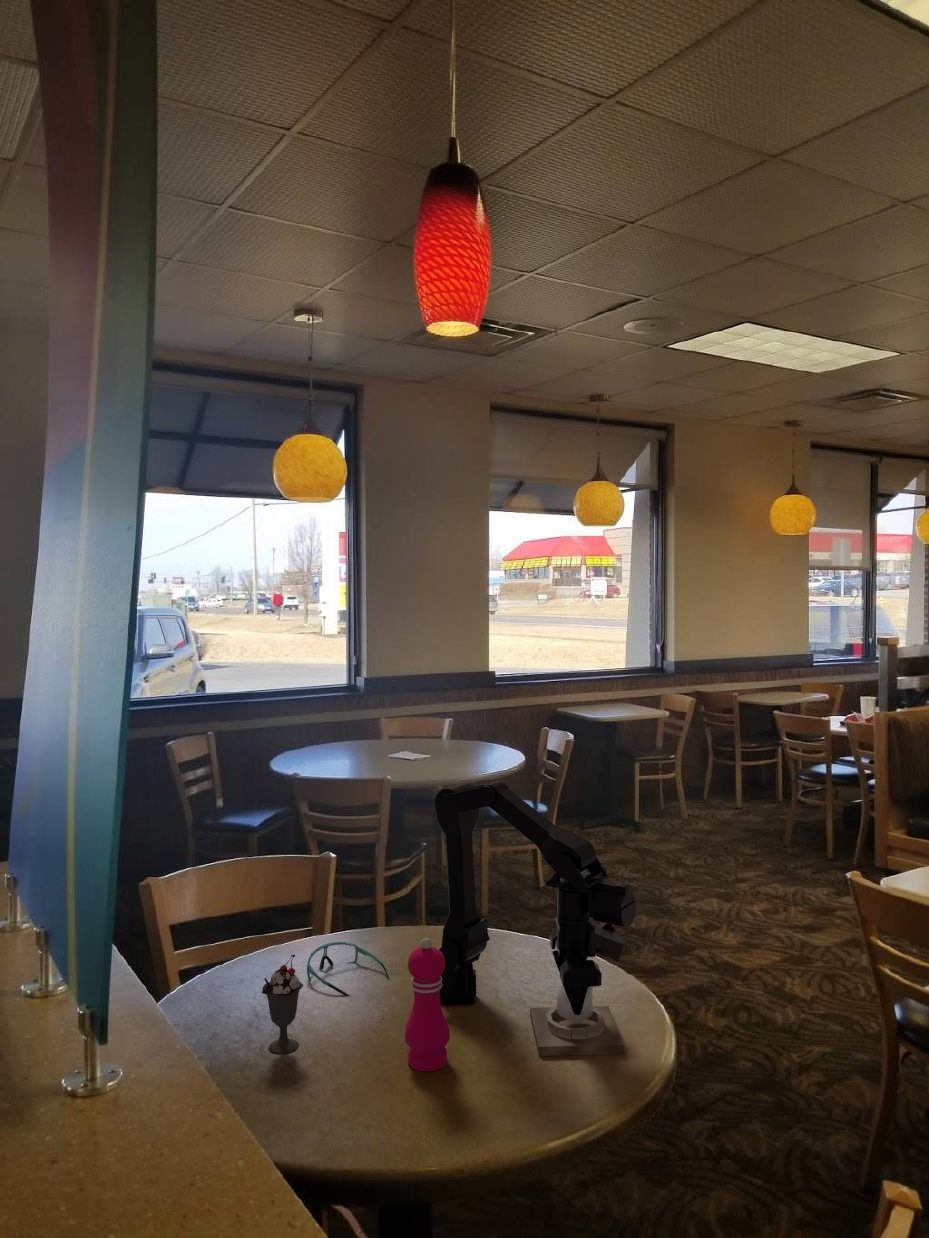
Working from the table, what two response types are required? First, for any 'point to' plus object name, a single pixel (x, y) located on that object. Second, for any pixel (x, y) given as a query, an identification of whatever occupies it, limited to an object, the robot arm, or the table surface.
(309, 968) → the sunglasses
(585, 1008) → the lens
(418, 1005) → the pepper mill
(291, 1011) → the sundae
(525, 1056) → the table surface
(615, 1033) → the mount board
